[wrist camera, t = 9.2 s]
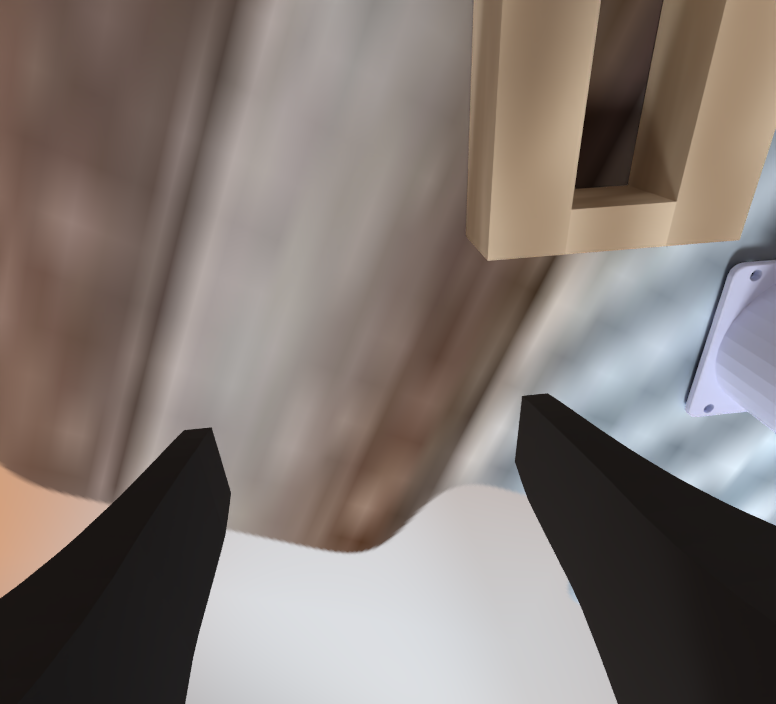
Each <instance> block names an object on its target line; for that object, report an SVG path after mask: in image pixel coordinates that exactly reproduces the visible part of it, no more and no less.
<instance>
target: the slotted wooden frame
mask: <svg viewBox="0 0 776 704" xmlns="http://www.w3.org/2000/svg"><path fill="white" fill-rule="evenodd" d="M600 3H601V0H474V7H473V37H472V67H471V97H470V127H469V157H468V187H467V217H466V237H467V238H468V239H469V240H470V241H471V242H472V244H473V245H474V246H475V247H476V248H477V249H478V250H479V251H480V253H481V254H482V255H483V256H484V257H485V258H486V259H487V261H489V260H502V259H514V258H526V257H538V256H550V255H563V254H575V253H587V252H599V251H611V250H624V249H636V248H648V247H660V246H672V245H685V244H697V243H709V242H721V241H734V240H740V237H741V233H742V230H743V227H744V224H745V221H746V218H747V215H748V212H749V209H750V206H751V203H752V200H753V197H754V193H755V190H756V187H757V184H758V181H759V178H760V175H761V172H762V169H763V166H764V163H765V160H766V156H767V153H768V150H769V147H770V144H771V141H772V138H773V135H774V132H775V129H776V0H663V5H662V11H661V16H660V21H659V26H658V31H657V36H656V42H655V47H654V52H653V57H652V62H651V67H650V72H649V78H648V83H647V88H646V93H645V98H644V103H643V108H642V114H641V119H640V124H639V129H638V134H637V139H636V145H635V150H634V155H633V160H632V165H631V170H630V175H629V181H628V185H622V186H608V187H595V188H581V189H574V187H575V180H576V173H577V166H578V159H579V152H580V145H581V138H582V131H583V124H584V117H585V109H586V102H587V95H588V88H589V81H590V74H591V67H592V60H593V53H594V46H595V39H596V32H597V24H598V17H599V10H600Z"/></svg>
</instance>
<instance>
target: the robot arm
mask: <svg viewBox="0 0 776 704" xmlns="http://www.w3.org/2000/svg"><path fill="white" fill-rule="evenodd" d="M754 271H755V273H754V274H753V275H752V276H751V274H752V273H753V272H754ZM750 276H751V277H750ZM685 410H686V412H687V413H688V414H689V415H690V416H692V417H701V416H710V415H719V414H729V413H738V412H747V411H748V412H749V413H750V414H752V415H753V416H754V417H755V418H757V419H758V420H759V421H761V422H762V423H763V424H764V425H766V426H767V427H768V428H769V429H771V430H772V431H773V432H775V433H776V260H766V261H755V262H743V263H739V264H737V265H735V266H734V267H733V268H732V269H731V270H730V272H729V274H728V276H727V279H726V282H725V286H724V289H723V292H722V295H721V298H720V301H719V304H718V307H717V310H716V313H715V316H714V319H713V323H712V326H711V329H710V332H709V335H708V338H707V341H706V344H705V347H704V350H703V353H702V356H701V360H700V363H699V366H698V369H697V372H696V375H695V378H694V381H693V384H692V387H691V390H690V393H689V397H688V400H687V403H686V406H685ZM515 463H516V466H517V469H518V472H519V475H520V478H521V481H522V484H523V487H524V489H525V492H526V495H527V498H528V500H529V502H530V504H531V506H532V509H533V511H534V513H535V514H536V517H537V519H538V521H539V523H540V524H541V527H542V528H543V531H544V533H545V535H546V537H547V538H548V540H549V543H550V544H551V546H552V548H553V550H554V552H555V554H556V556H557V558H558V560H559V562H560V564H561V566H562V568H563V570H564V572H565V574H566V576H567V578H568V580H569V582H570V584H571V586H572V588H573V590H574V592H575V595H576V597H577V599H578V601H579V603H580V606H581V608H582V610H583V613H584V615H585V618H586V621H587V623H588V626H589V628H590V631H591V633H592V636H593V638H594V641H595V643H596V646H597V648H598V651H599V654H600V657H601V659H602V662H603V665H604V667H605V670H606V673H607V676H608V678H609V681H610V684H611V686H612V689H613V692H614V694H615V697H616V700H617V703H618V704H776V526H775V525H773V524H771V523H768V522H766V521H764V520H762V519H759V518H757V517H755V516H753V515H750V514H748V513H746V512H744V511H742V510H739V509H737V508H735V507H733V506H731V505H729V504H727V503H725V502H723V501H721V500H719V499H717V498H715V497H713V496H711V495H709V494H707V493H705V492H703V491H701V490H700V489H698V488H696V487H694V486H692V485H690V484H688V483H686V482H684V481H682V480H681V479H679V478H677V477H675V476H673V475H672V474H670V473H668V472H667V471H665V470H663V469H662V468H660V467H658V466H657V465H655V464H653V463H652V462H650V461H648V460H647V459H645V458H643V457H642V456H640V455H638V454H637V453H635V452H634V451H632V450H630V449H629V448H627V447H626V446H624V445H623V444H621V443H620V442H618V441H617V440H615V439H614V438H612V437H611V436H609V435H608V434H606V433H605V432H603V431H602V430H600V429H599V428H597V427H596V426H594V425H593V424H592V423H590V422H589V421H587V420H586V419H584V418H583V417H582V416H580V415H579V414H577V413H576V412H574V411H573V410H572V409H570V408H569V407H567V406H566V405H564V404H563V403H561V402H560V401H558V400H557V399H555V398H554V397H552V396H551V395H549V394H548V393H547V394H537V395H527V396H522V403H521V412H520V421H519V430H518V439H517V448H516V457H515ZM230 497H231V491H230V488H229V485H228V481H227V478H226V475H225V471H224V468H223V464H222V461H221V458H220V454H219V451H218V448H217V444H216V441H215V437H214V434H213V431H212V427H211V428H202V429H192V430H184V431H183V432H182V433H181V434H180V435H179V436H178V437H177V438H176V439H175V440H174V441H173V442H172V443H171V444H170V445H169V446H168V447H167V448H166V449H165V450H164V451H163V452H162V453H161V454H160V456H159V457H158V458H157V459H156V460H155V461H154V462H153V463H152V464H151V465H150V466H149V467H148V468H147V469H146V470H145V471H144V472H143V473H142V474H141V475H140V476H139V477H138V478H137V479H136V480H135V481H134V482H133V483H132V484H131V485H130V487H129V488H128V489H127V490H126V491H125V492H124V493H123V494H122V495H121V496H120V497H119V498H118V499H117V500H115V501H114V502H113V503H112V504H111V505H110V506H109V507H108V508H107V509H106V510H105V511H104V512H103V513H102V514H101V515H100V516H99V517H97V518H96V519H95V520H94V521H93V522H92V523H91V524H90V525H89V526H88V527H87V528H86V529H85V530H84V531H83V532H82V533H80V534H79V535H78V536H77V537H76V538H75V539H74V540H73V541H71V542H70V543H69V544H68V545H67V546H66V547H65V548H63V549H62V550H61V551H60V552H59V553H57V554H56V555H55V556H54V557H53V558H51V559H50V560H49V561H48V562H47V563H45V564H44V565H43V566H42V567H40V568H39V569H38V570H37V571H35V572H34V573H33V574H32V575H30V576H29V577H28V578H27V579H26V580H25V581H23V582H22V583H20V584H19V585H18V586H17V587H15V588H14V589H13V590H11V591H10V592H9V593H7V594H6V595H4V596H3V597H2V598H0V704H185V701H186V695H187V689H188V684H189V678H190V672H191V667H192V661H193V656H194V651H195V647H196V643H197V638H198V634H199V631H200V627H201V623H202V619H203V616H204V612H205V609H206V605H207V601H208V598H209V594H210V590H211V587H212V583H213V579H214V576H215V572H216V568H217V565H218V561H219V557H220V553H221V550H222V545H223V542H224V538H225V533H226V527H227V520H228V513H229V505H230Z"/></svg>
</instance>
